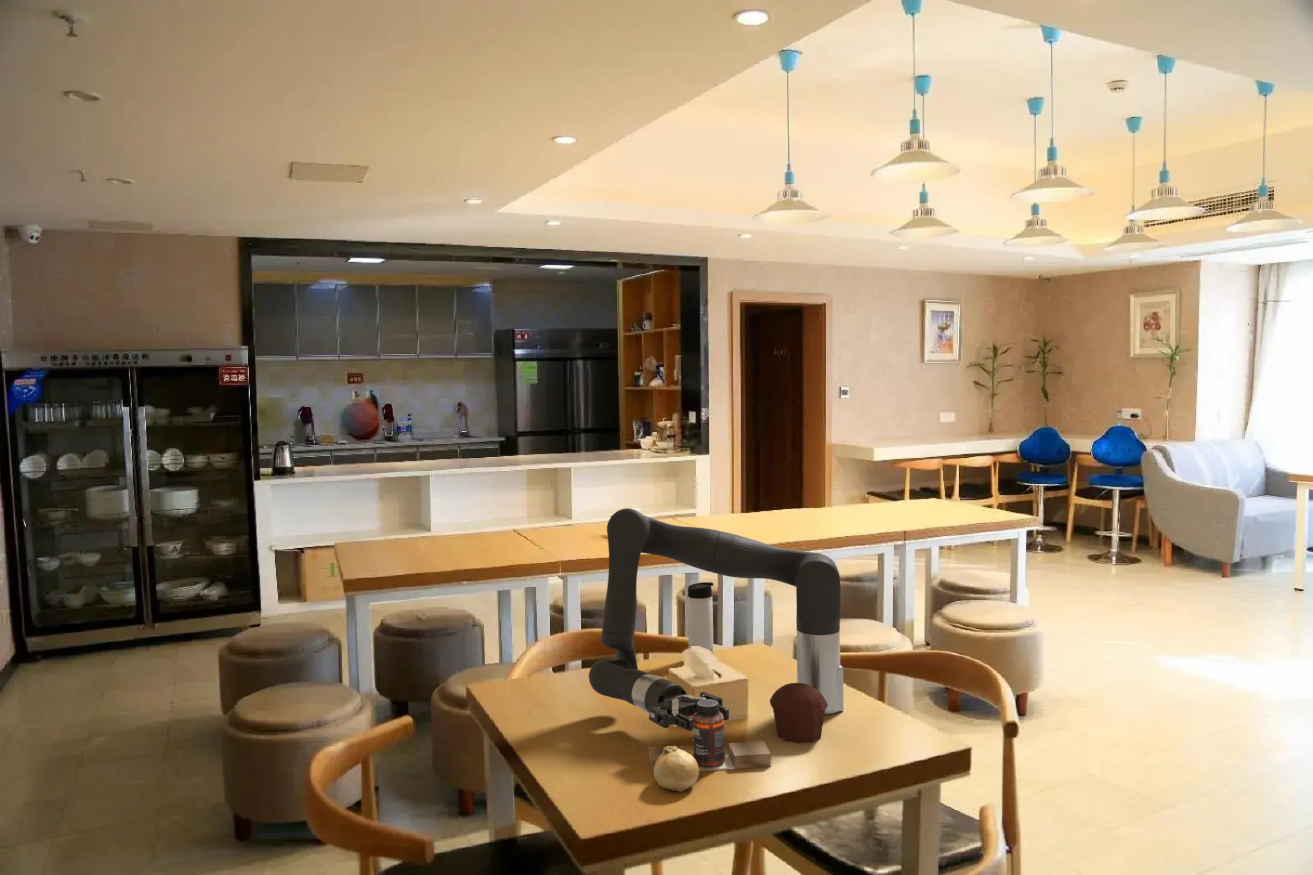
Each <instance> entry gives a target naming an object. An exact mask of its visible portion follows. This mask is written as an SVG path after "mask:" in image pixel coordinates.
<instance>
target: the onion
mask: <svg viewBox="0 0 1313 875" xmlns="http://www.w3.org/2000/svg"><path fill="white" fill-rule="evenodd" d="M664 747H665V748H664V749H663V753H662V754H661V755H660V756H659V758H658V759H657V761H656V763H655V766H654V774H653V776H654V779H655V781H656V782H657V783H658V785H659V786H660V787H661V788H662V789H663V788H664V789H666V790H670V791H673V792H680V793H682V792H684V791H686V790H688V789H689V788H691V787H692V786H693V785H694V784H695V783H696V782H697V780H698V778H699V774H700V771H699V767H698V764H697V762H696V760H695V759H694V755H692V754H691V753H689V752H687V751H686V752H685V751H683V750H680V749H678V748H677V747H676V745H673V746H668V745H667V746H664Z"/></svg>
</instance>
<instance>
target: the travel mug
mask: <svg viewBox="0 0 1313 875" xmlns="http://www.w3.org/2000/svg"><path fill="white" fill-rule="evenodd" d="M712 587H714V582H713V581H709V582H708V581H707V582H706V581H704V582H696V583H693V584H690V585H688V587H687V625H688V628H687V630H688V634H687V635H688V636H687V637H688V649H689V648H690V647H691V646H701V647H703V648H706V649H709V650H710V651H711V652H712V653H713V654H714V623H713V622H714V621H713V620H714V619H713V618H714V615H713V614H714V613H713V612H714V611H713V609H714V608H713V589H712Z"/></svg>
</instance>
